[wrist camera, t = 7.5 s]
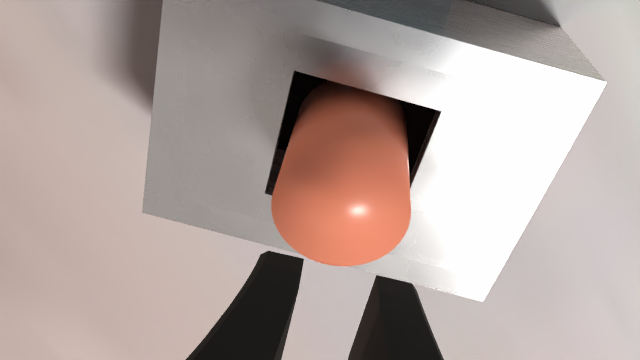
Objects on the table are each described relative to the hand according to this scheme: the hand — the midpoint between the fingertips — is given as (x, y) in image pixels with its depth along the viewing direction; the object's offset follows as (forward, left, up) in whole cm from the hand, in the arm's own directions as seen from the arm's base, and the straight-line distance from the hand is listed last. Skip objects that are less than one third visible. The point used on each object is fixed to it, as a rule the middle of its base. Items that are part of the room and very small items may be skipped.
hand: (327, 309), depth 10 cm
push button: (0, 0, -7) cm, 7 cm away
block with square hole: (0, 0, -9) cm, 9 cm away
